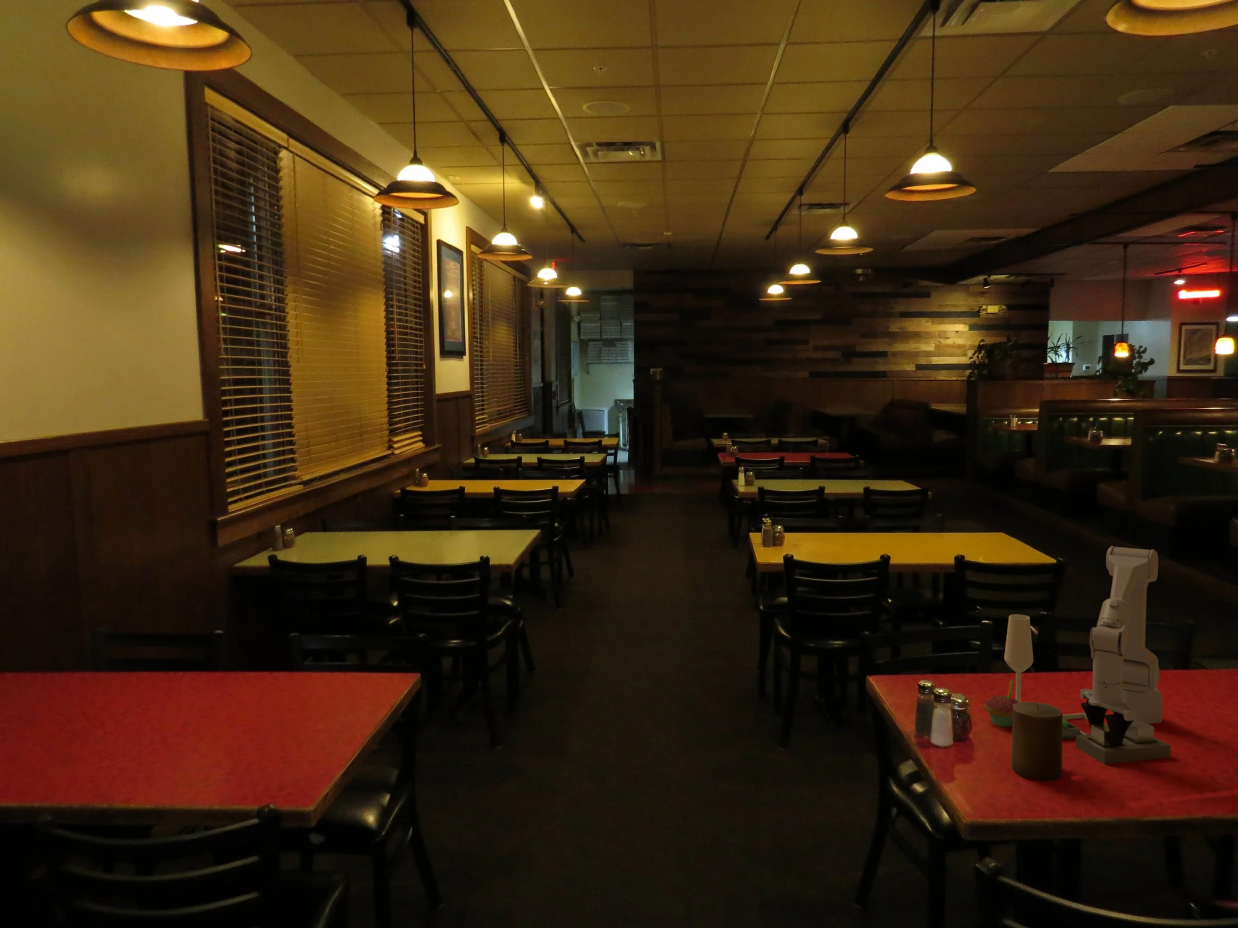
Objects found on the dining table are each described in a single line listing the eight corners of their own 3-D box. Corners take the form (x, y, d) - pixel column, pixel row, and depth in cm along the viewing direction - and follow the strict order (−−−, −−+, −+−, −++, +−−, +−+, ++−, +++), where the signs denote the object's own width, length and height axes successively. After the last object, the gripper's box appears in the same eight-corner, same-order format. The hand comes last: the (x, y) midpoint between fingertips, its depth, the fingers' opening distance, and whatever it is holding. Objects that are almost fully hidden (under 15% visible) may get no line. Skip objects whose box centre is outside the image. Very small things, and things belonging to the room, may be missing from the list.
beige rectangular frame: (1083, 719, 210) (1084, 712, 210) (1126, 742, 196) (1126, 734, 196) (1050, 722, 209) (1050, 715, 208) (1090, 745, 195) (1091, 738, 195)
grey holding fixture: (1138, 744, 195) (1139, 729, 195) (1170, 760, 186) (1170, 745, 186) (1075, 750, 193) (1075, 735, 192) (1104, 767, 184) (1104, 751, 183)
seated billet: (1139, 745, 192) (1140, 720, 192) (1153, 753, 188) (1153, 726, 188) (1123, 747, 192) (1124, 721, 191) (1136, 754, 188) (1137, 728, 187)
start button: (1061, 731, 202) (1061, 717, 202) (1071, 737, 199) (1072, 723, 198) (1047, 732, 202) (1047, 718, 201) (1057, 738, 198) (1057, 724, 198)
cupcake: (1020, 720, 210) (1021, 673, 209) (1024, 734, 202) (1025, 684, 201) (982, 717, 213) (983, 670, 212) (985, 730, 205) (986, 681, 204)
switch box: (1062, 730, 204) (1062, 718, 203) (1079, 740, 198) (1080, 728, 197) (1039, 732, 203) (1039, 720, 202) (1056, 742, 197) (1056, 730, 197)
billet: (1106, 749, 191) (1107, 723, 190) (1119, 756, 187) (1120, 730, 186) (1090, 750, 190) (1091, 724, 190) (1103, 758, 186) (1103, 731, 186)
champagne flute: (1024, 703, 222) (1025, 613, 220) (1037, 713, 215) (1039, 619, 213) (998, 704, 221) (999, 613, 219) (1011, 714, 215) (1012, 620, 213)
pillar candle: (1059, 785, 176) (1061, 714, 175) (1008, 774, 181) (1009, 705, 180) (1063, 767, 184) (1065, 700, 183) (1014, 758, 190) (1015, 692, 188)
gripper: (1068, 671, 194) (1067, 729, 195) (1115, 693, 180) (1113, 755, 181) (1096, 669, 195) (1095, 726, 196) (1145, 690, 181) (1143, 752, 182)
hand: (1106, 740), depth 188 cm, fingers open, 5 cm apart
